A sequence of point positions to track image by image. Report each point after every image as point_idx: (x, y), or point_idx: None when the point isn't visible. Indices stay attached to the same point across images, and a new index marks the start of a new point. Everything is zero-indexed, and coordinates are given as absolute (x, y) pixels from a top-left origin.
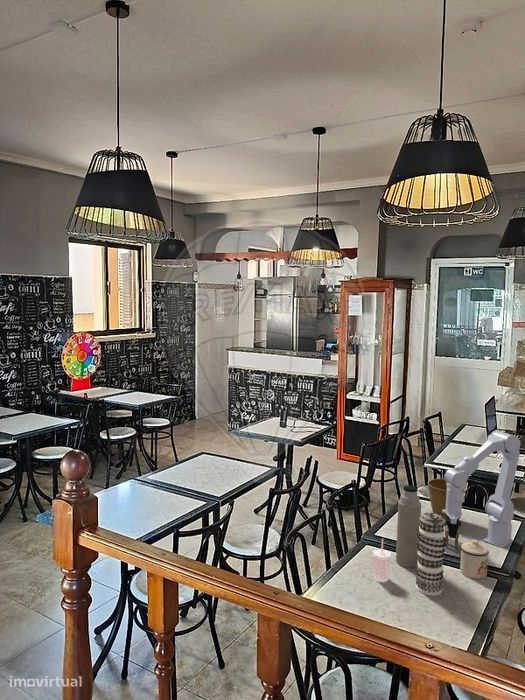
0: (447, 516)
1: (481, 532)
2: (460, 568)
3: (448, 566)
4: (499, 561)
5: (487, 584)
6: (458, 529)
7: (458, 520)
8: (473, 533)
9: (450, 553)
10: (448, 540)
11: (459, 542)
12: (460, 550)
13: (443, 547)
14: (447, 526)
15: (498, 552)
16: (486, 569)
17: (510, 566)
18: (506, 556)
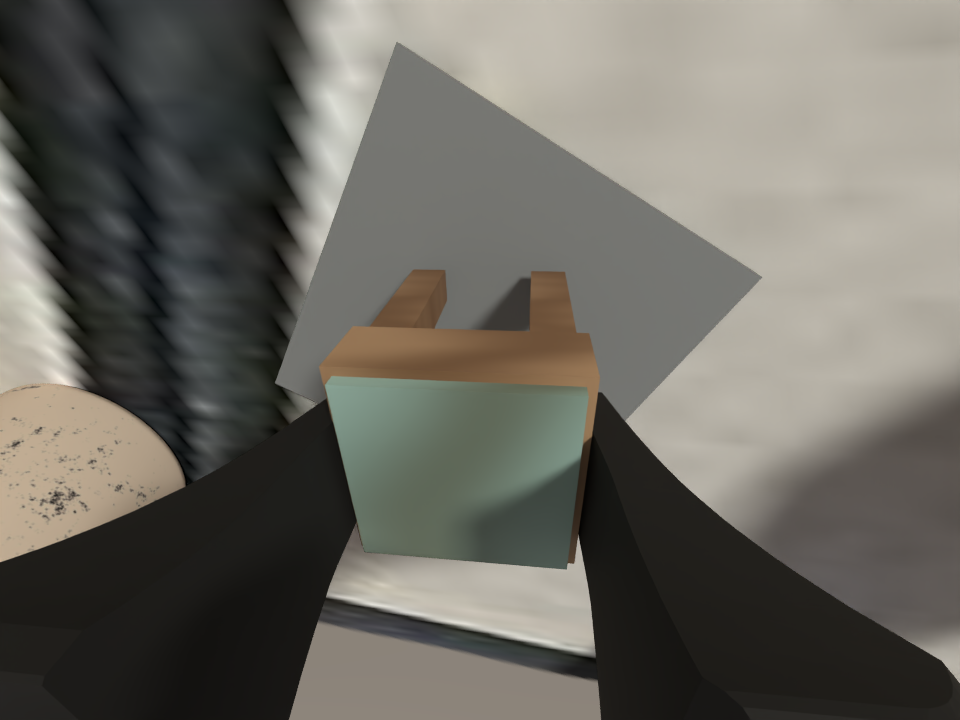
0: (666, 644)
1: (920, 579)
2: (15, 393)
3: (41, 291)
4: (388, 597)
5: None
6: (506, 554)
7: (603, 712)
8: (898, 528)
9: (300, 319)
10: (645, 307)
11: (617, 411)
12: None
13: (416, 248)
14: (546, 424)
15: (529, 612)
16: None
17: (351, 628)
18: (484, 634)
